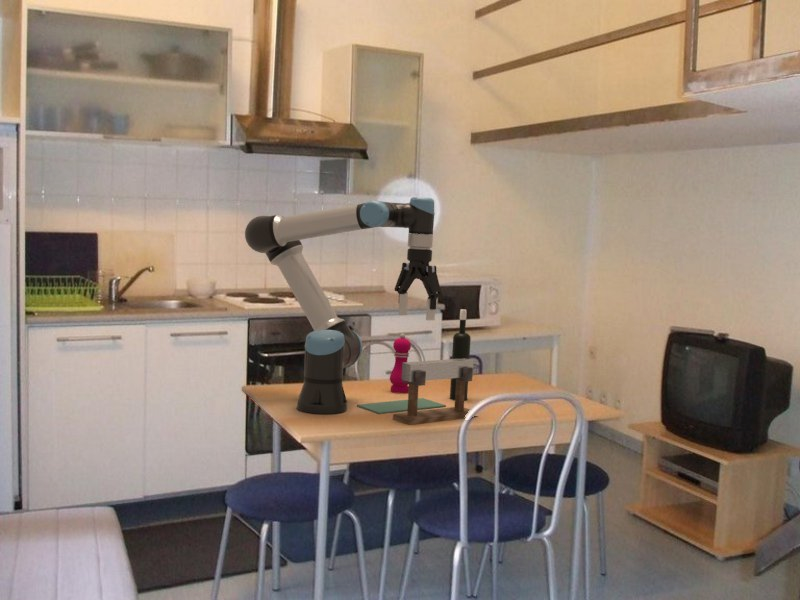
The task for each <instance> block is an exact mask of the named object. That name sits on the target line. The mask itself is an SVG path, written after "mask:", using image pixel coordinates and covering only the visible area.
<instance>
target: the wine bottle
mask: <svg viewBox="0 0 800 600" xmlns="http://www.w3.org/2000/svg"><path fill="white" fill-rule="evenodd" d="M466 325H467V309H466V308H465V309H462V308H461V309H460V311H459V331H458V332H455V333H454V335H453V337H452V353H451V359H462V358H466V359H470V358H471V357H470V356H471V340H472V339H471V338H472V337H471V335H470V334H469V333H466ZM468 386H469V381H467V382H465V396H464V401H468V391H469V387H468ZM449 390H450V393H449V399H450V400H452V401H455V391H456V379H453V378H451V379H450V387H449Z"/></svg>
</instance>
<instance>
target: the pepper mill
mask: <svg viewBox="0 0 800 600" xmlns="http://www.w3.org/2000/svg"><path fill="white" fill-rule="evenodd" d="M392 345H393V350H394V355H393V356H394V358H395V361H394V365H393V368H392V370H391V372H390V376H389V381H390V383H391V384H392V385H390V392H391V393H394V394H395V393H396V394H408V392H409V383H405V382H402V381H403V380H402V363H404V362H408V358H409V357H410V352H409V351H410V350H411V348H412V343H411V341H410V340H409V339H408V338H406V334H405V333H400V335H399V337H397V338H396V339H395V340H394V341H393V344H392Z"/></svg>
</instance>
